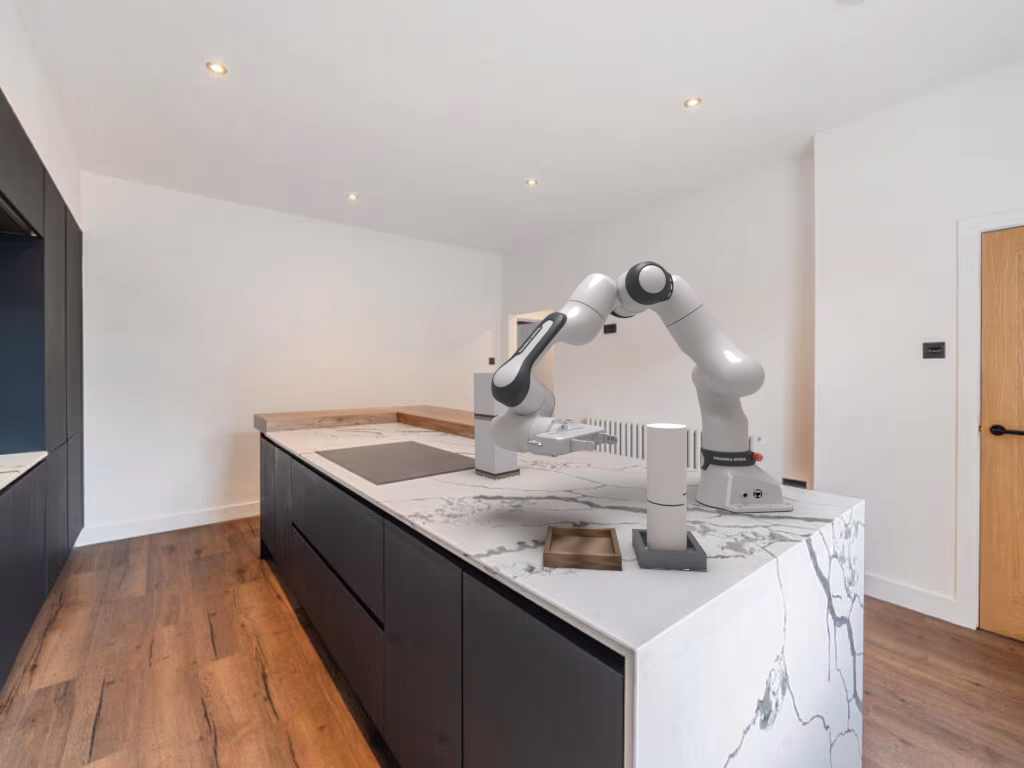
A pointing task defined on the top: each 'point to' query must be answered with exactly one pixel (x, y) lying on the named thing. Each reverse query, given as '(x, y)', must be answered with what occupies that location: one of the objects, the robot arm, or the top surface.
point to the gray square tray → (669, 554)
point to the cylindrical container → (666, 487)
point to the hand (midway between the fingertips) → (606, 443)
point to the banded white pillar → (487, 453)
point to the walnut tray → (582, 548)
